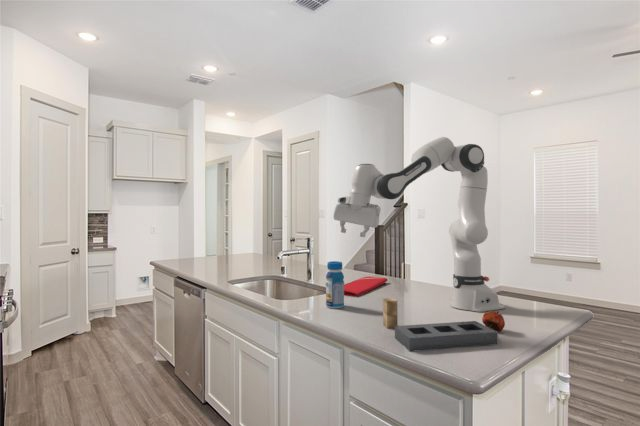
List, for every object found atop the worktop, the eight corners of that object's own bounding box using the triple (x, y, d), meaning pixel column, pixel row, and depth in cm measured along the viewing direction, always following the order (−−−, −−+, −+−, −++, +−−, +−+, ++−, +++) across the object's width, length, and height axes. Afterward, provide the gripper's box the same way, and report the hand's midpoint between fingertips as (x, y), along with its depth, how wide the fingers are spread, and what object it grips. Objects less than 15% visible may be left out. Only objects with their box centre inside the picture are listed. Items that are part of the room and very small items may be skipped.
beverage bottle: (341, 309, 160) (341, 263, 160) (323, 307, 163) (322, 263, 163) (346, 304, 168) (346, 261, 168) (329, 303, 171) (329, 260, 170)
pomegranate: (500, 342, 126) (514, 320, 129) (489, 326, 124) (503, 305, 128) (482, 337, 132) (496, 317, 136) (472, 323, 131) (486, 303, 135)
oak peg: (393, 324, 138) (393, 298, 138) (397, 327, 134) (397, 300, 134) (383, 325, 138) (383, 298, 138) (387, 328, 134) (387, 301, 134)
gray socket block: (475, 332, 129) (475, 320, 129) (497, 344, 117) (497, 331, 117) (394, 337, 124) (394, 326, 124) (409, 351, 112) (409, 338, 112)
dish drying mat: (330, 294, 191) (330, 287, 191) (364, 281, 226) (364, 275, 226) (357, 298, 182) (357, 290, 182) (388, 284, 217) (388, 277, 217)
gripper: (384, 206, 148) (378, 240, 147) (342, 200, 160) (336, 231, 160) (377, 204, 143) (371, 239, 142) (334, 197, 155) (328, 229, 154)
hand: (352, 234), depth 151 cm, fingers open, 8 cm apart
